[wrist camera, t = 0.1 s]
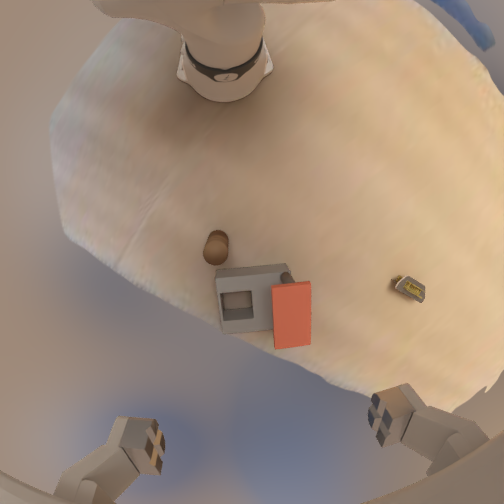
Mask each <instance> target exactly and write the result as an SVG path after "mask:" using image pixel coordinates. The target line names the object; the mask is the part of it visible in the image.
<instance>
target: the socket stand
mask: <svg viewBox="0 0 504 504" xmlns="http://www.w3.org/2000/svg"><path fill="white" fill-rule="evenodd" d="M215 281H216V289H217V297H218V304H219V312H220V319H221V326H222V333H223V334H233V333H244V332H254V331H263V330H272V329H273V332H274V347H275V349H282V348H290V347H297V346H304V345H310V344H311V283H310V282H309V281H306V282H297V283H295V281H294V280H293V278H292V276H291V271H290V270H289V268H288V266H287V265H286V263H284V264H274V265H264V266H254V267H243V268H233V269H222V270H216V276H215ZM249 290H251V300H252V307H251V308H241V309H230V310H224V308H223V300H222V293H228V292H239V291H249Z"/></svg>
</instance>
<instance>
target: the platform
mask: <svg viewBox="0 0 504 504" xmlns="http://www.w3.org/2000/svg"><path fill="white" fill-rule="evenodd" d="M399 278H400V279H399ZM391 280H392V279H391ZM392 281H394V280H392ZM396 281H397V282H398V283H397V282H396ZM396 281H394V282H395V283H397V284H396V286H395V288H396V289H397V290H399V291H401V292H402V293H404V294H406V295H408V296H409V297H411V298H413V299H415V300H416V301H418V302H420V303H422V302H423V300H424V299H425V286H424V285H422V284H421V283H419V282H417V281H416V280H414V279H413V278H411V277H410V276H407V275H406V276H404V277H401V276H398V278H397V280H396ZM408 282H409V283H408ZM411 285H412V286H411ZM415 286H416V287H415ZM410 287H411V288H410ZM414 288H415V289H414ZM411 289H412V290H411ZM418 289H419V290H418ZM415 290H416V291H415ZM417 291H418V292H417ZM414 292H415V293H414Z"/></svg>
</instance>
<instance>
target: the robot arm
mask: <svg viewBox="0 0 504 504" xmlns="http://www.w3.org/2000/svg"><path fill="white" fill-rule="evenodd" d="M91 1H92V3H93V4H94V5H95V7H96V8H97V9H99V10H100V11H101V12H103V13H104V14H106V15H108V16H110V17H112V18H136V19H143V20H149V21H153V22H156V23H159V24H162V25H165V26H167V27H170V28H172V29H174V30H176V31H178V32H179V33H181V34H182V35H181V41H182V42H183V46H182V48H181V55H180V60H179V65H178V70H177V77H178V79H179V80H181V81H183V82H185V83H188V84H190V85H191V86H192V87H193V88H194V90H195V91H196V92H197V93H198V94H200V95H201V96H203V97H205V98H207V99H209V100H212V101H217V102H231V101H235V100H239V99H241V98H243V97H245V96H247V95H248V94H250V93H251V92H252V91H253V90H254V89H255V88H256V87H257V85H258V84H259V82H260V81H261V79H262V78H263V77H265V76H267V75H268V74H270V73H271V72H272V71H273V63H272V60H271V57H270V55H269V52H268V49H267V46H266V44H265V41H264V38H263V36H262V34H263V29H264V25H265V13H264V10H263V8H262V6H261V5H260V3H278V4H296V3H313V2H327V1H335V0H91ZM182 69H183V70H182ZM371 401H372V403H373V404H372V405H371V406H370V407H369V410H368V421H369V424H370V426H371V428H372V429H373V430H375V431H377V434H376V438H377V440H378V442H379V444H380V445H381V447H382V448H383V447H386V446H390V445H393V444H396V443H398V442H401V443H402V444H404V445H405V446H407V447H409V448H410V449H412V450H414V451H415V452H417V453H419V454H420V455H422V456H424V457H426V458H428V459H429V460H431V461H433V463H432V464H431V466H430V467H429V468H428V470H427V472H426V474H427V476H428V477H426V478H424V479H422V480H420V481H418V482H416V483H413V484H411V485H409V486H407V487H404V488H402V489H399V490H397V491H395V492H392V493H390V494H387V495H384V496H382V497H379V498H376V499H373V500H370V501H367V502H364V503H361V504H504V430H503V431H501V432H500V433H499V434H497V435H496V436H495V437H493V438H492V439H489V438H488V437H487V436H486V434H485V433H484V432H483V431H482V430H481V428H480V427H479V426H478V425H477V424H476V422H474V421H472V420H469V419H466V418H462V417H460V416H457V415H454V414H451V413H448V412H446V411H443V410H440V409H437V408H435V407H432V406H428V407H427V406H426V405H425V403H424V402H423V401H422V399H421V398H420V397H419V396H418V394H417V393H416V392H415V391H414V389H413V388H412V387H411V386H410V384H408V383H405V384H402V385H399V386H396V387H393V388H390V389H386V390H383V391H380V392H376V393H374V394H373V395H372V398H371ZM158 426H159V424H158V422H157V420H156V419H149V418H136V417H125V416H118V417H117V418H116V420H115V422H114V425H113V427H112V430H111V433H110V435H109V438H108V440H107V443H106V445H101V446H100V447H99V448H97V449H96V450H94V451H93V452H92V453H90V454H89V455H87V456H86V457H84V458H83V459H81V460H80V461H78V462H77V463H76V464H74V465H73V466H71V467H70V468H68V469H67V470H65V471H64V472H63V473H62V475H61V477H60V480H59V482H58V485H57V487H56V490H55V492H54V495H51V494H49V493H46V492H44V491H41V490H39V489H37V488H34V487H32V486H30V485H28V484H26V483H23V482H21V481H19V480H17V479H15V478H13V477H11V476H9V475H7V474H6V473H4V472H2V471H0V504H116V503H115V502H114V501H115V500H116V499H117V498H118V497H119V496H120V495H121V494H122V493H123V492H124V491H125V490H126V489H127V488H128V487H129V486H130V485H131V484H132V483H133V482H134V480H135V479H136V478H137V477H138V476H139V475H140V474H149V475H161V469H162V463H163V462H162V460H161V458H160V457H161V456H162V455H163V454H164V453H165V439H164V435H163V433H162V432H161V431H160V430H158Z"/></svg>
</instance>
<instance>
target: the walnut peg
mask: <svg viewBox="0 0 504 504" xmlns="http://www.w3.org/2000/svg"><path fill="white" fill-rule="evenodd" d="M203 256H204V259H205V260H206V261H207V262H208V263H209V264H211V265H220V264H222V263H224V262H225V261H226V259H227V256H228V236H227V235H226V233H225V232H223V231H221V230H216V231H213V232H212V233H211V234H210V235H209V237H208V239H207V242H206V245H205V248H204V251H203Z"/></svg>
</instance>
